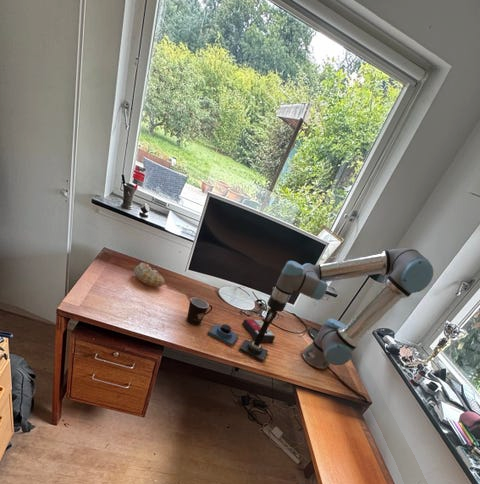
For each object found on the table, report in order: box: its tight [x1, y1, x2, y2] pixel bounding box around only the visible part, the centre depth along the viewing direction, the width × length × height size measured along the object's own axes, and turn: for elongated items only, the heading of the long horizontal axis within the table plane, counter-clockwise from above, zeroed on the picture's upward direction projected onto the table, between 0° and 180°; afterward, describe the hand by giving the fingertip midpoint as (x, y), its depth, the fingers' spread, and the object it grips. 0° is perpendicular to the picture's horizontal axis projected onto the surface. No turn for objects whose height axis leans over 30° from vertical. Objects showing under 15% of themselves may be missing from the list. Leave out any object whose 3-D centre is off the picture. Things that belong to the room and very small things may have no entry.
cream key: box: [252, 342, 261, 349], centre depth 158 cm, size 4×4×2 cm
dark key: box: [221, 323, 232, 333], centre depth 158 cm, size 4×4×2 cm
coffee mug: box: [186, 297, 213, 326], centre depth 157 cm, size 12×9×10 cm
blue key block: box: [207, 323, 239, 347], centre depth 159 cm, size 12×10×4 cm
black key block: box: [238, 339, 269, 363], centre depth 159 cm, size 12×10×4 cm
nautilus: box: [133, 261, 166, 288], centre depth 169 cm, size 8×22×15 cm
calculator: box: [242, 318, 276, 343], centre depth 174 cm, size 11×4×15 cm
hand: (256, 344), depth 158 cm, fingers closed
